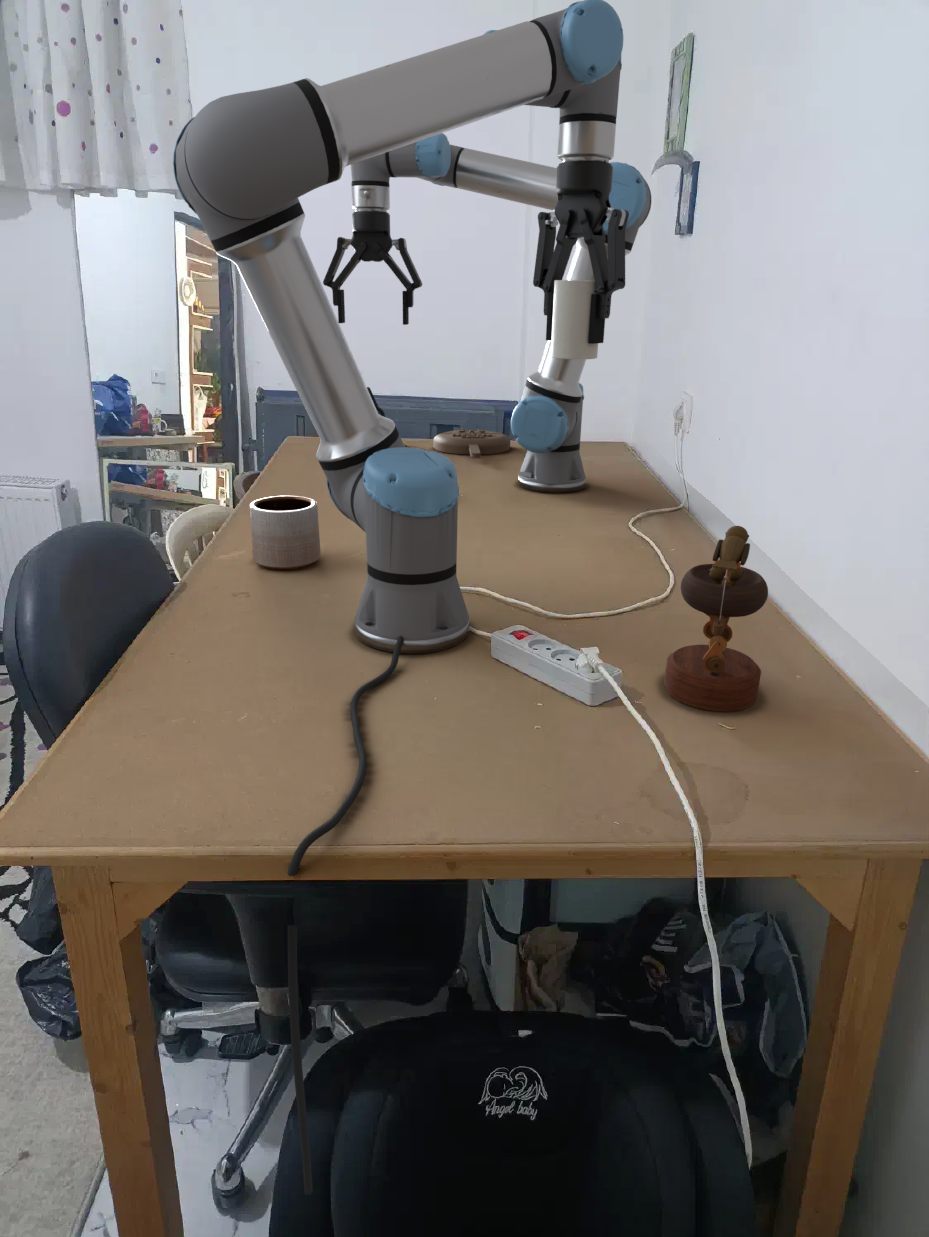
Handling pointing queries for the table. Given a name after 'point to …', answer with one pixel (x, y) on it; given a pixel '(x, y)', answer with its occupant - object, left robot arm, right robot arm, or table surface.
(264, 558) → the planter
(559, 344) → the can
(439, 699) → the table surface
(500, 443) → the ice cream bar
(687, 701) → the music box
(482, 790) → the table surface
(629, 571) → the table surface
